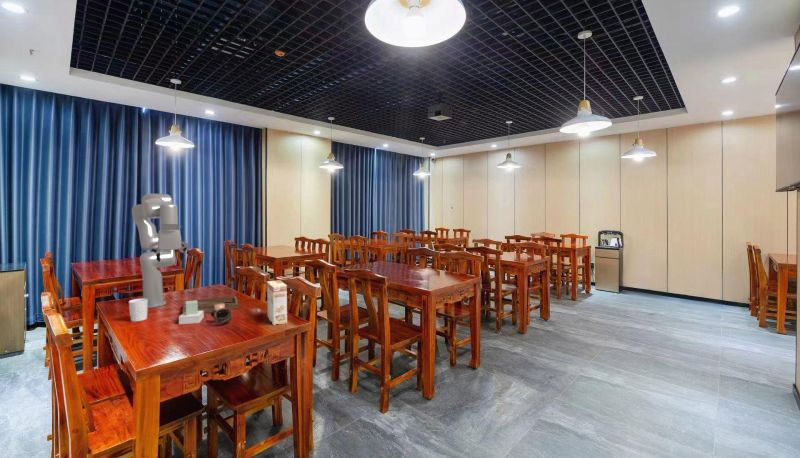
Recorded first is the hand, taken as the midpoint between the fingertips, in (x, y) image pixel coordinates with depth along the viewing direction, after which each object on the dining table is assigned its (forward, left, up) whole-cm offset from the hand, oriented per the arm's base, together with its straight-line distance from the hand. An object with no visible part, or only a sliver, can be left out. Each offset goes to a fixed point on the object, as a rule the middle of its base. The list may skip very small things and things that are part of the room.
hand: (170, 260), depth 184 cm
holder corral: (-13, +18, -30) cm, 38 cm away
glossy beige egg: (+1, +22, -30) cm, 38 cm away
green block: (+8, +9, -27) cm, 29 cm away
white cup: (-6, -15, -31) cm, 35 cm away
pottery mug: (+18, +22, -31) cm, 42 cm away
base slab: (+8, +9, -31) cm, 33 cm away
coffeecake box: (+27, +48, -31) cm, 63 cm away
